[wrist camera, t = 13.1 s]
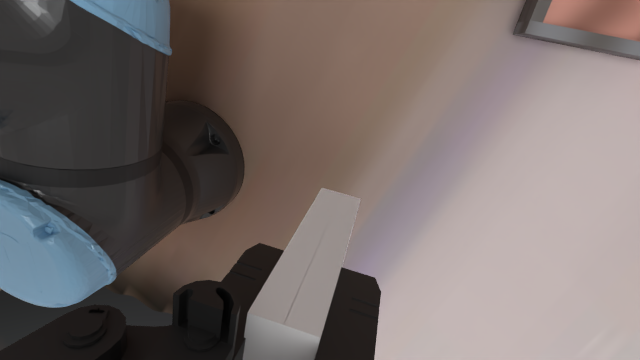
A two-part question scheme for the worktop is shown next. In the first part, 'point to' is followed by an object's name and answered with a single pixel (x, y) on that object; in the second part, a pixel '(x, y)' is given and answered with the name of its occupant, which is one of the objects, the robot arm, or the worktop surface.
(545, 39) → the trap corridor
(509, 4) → the worktop surface
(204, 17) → the worktop surface
